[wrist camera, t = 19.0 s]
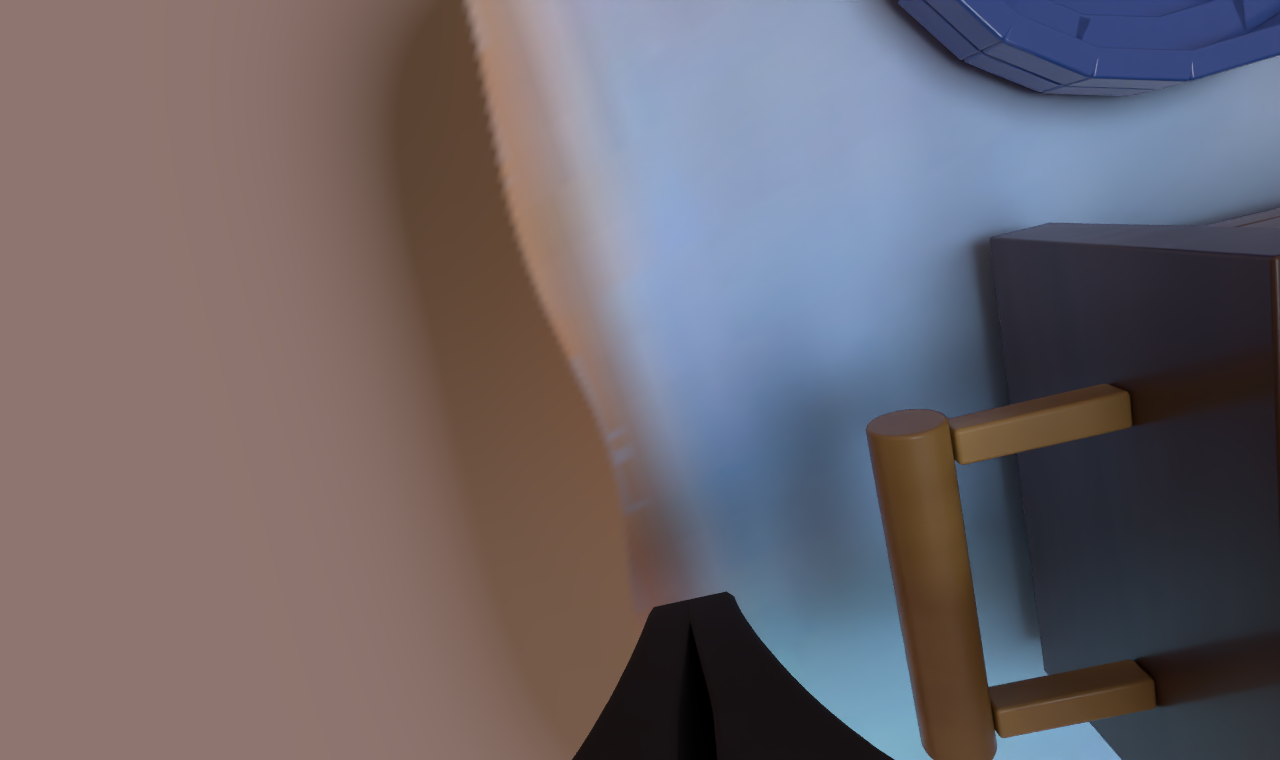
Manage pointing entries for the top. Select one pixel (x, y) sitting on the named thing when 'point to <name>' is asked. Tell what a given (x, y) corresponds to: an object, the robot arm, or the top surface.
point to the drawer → (1111, 496)
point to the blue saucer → (1103, 40)
